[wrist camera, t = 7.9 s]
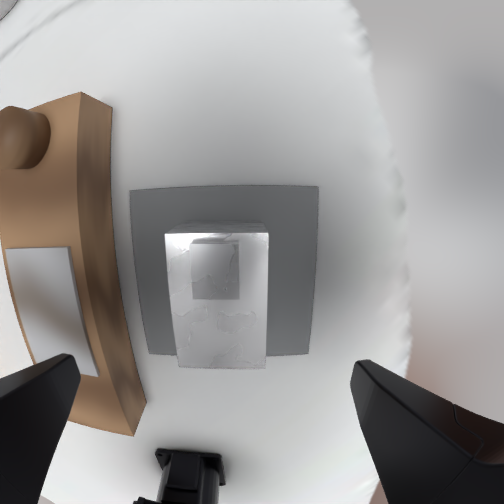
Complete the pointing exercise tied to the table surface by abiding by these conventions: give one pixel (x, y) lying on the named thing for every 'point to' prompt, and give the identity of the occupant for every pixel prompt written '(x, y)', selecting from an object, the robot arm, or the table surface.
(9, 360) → the table surface
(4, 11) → the cup
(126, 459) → the table surface
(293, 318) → the rubber mat
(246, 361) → the lever cap
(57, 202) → the hand plane
